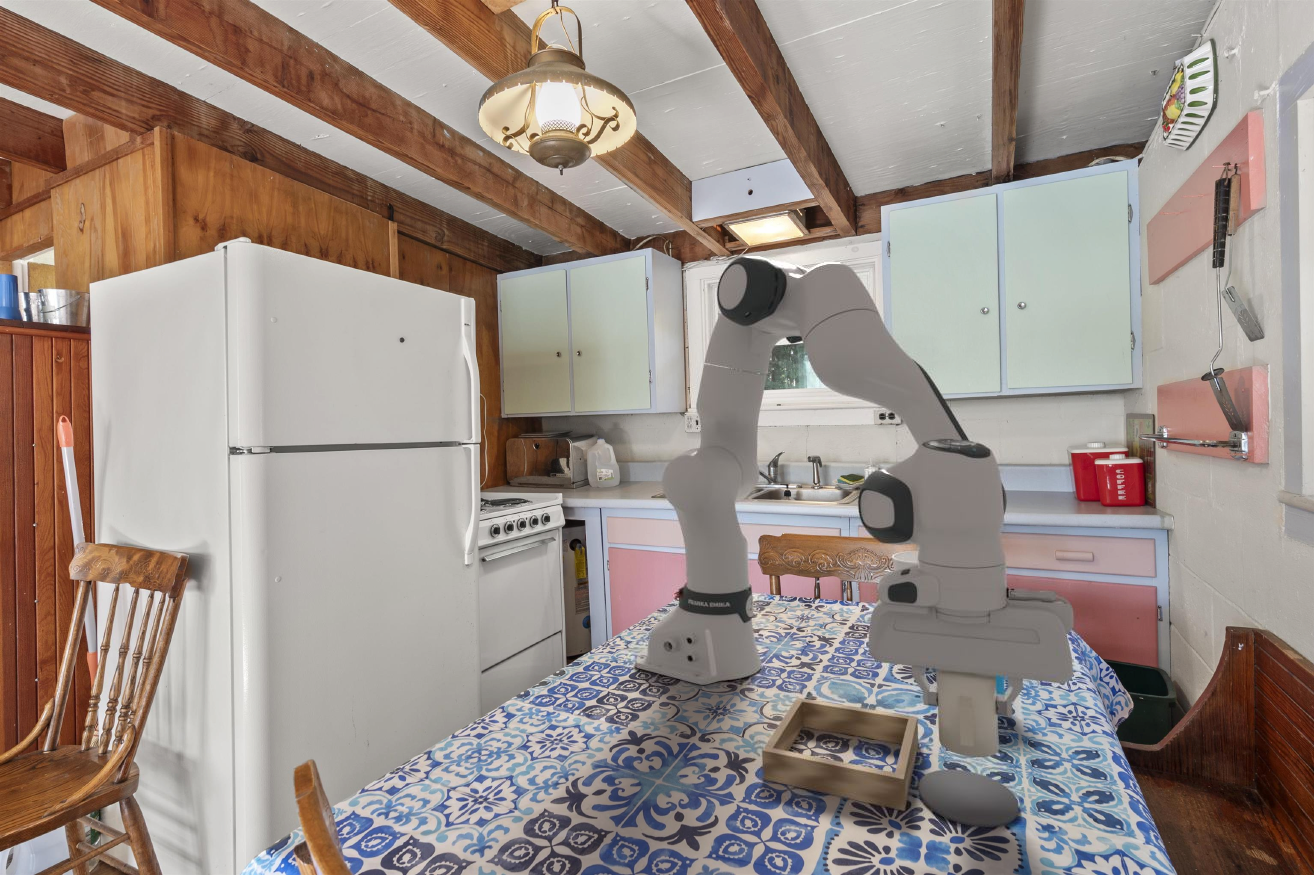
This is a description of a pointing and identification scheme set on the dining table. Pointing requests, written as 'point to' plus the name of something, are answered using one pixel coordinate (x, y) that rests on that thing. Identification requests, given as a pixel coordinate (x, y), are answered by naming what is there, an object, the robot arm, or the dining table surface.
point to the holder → (841, 775)
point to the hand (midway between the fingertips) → (966, 708)
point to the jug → (967, 713)
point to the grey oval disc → (968, 798)
